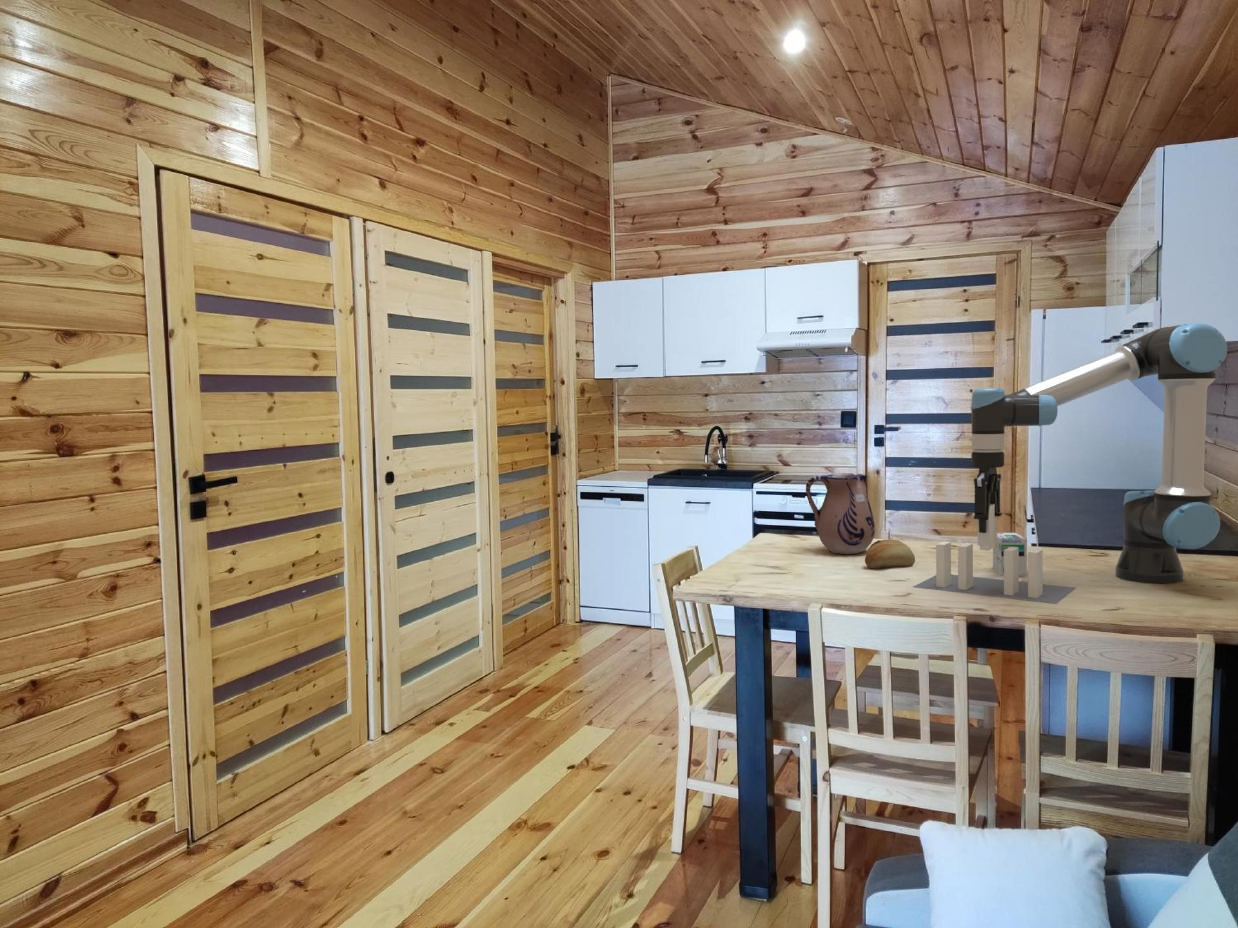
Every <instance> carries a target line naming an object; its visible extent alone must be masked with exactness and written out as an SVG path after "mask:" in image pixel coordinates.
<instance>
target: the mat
mask: <svg viewBox="0 0 1238 928" xmlns="http://www.w3.org/2000/svg"><path fill="white" fill-rule="evenodd" d="M912 588H917V589H924V590H933V591H942V592H949V593H950V592H951V593H956V594H957V593H958V594H967V595H968V594H969V595H976V596H983V597H993V598H1001V599H1008V600H1018V601H1024V602H1025V601H1026V602H1035V603H1044V604H1053V605H1057V604H1058V603H1059V602H1061V601H1062V600H1063V599H1064V598H1066V597H1067V596H1068V595H1069V594H1071V593H1073V591H1074V590H1076V589H1077V587H1075V586H1074V587H1073V586H1065V585H1064V586H1063V585H1056V584H1046V583H1043V594H1042V595H1041V596H1039V597H1038V598H1030V597H1028V581H1027V582H1026V581H1019V592H1017V593H1016V594H1014V595H1004V579H999V578H989V577H987V578H986V577H979V576H973V587H971V588H969V589H967V590H961V589H958V574H952V573H951V584H950V585H948V586H946V587H936V574H935V575H934V576H931V577H929V578H928V579H926V580H923V581H921V582H920V583H917V584H915V585H914V586H912Z"/></svg>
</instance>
